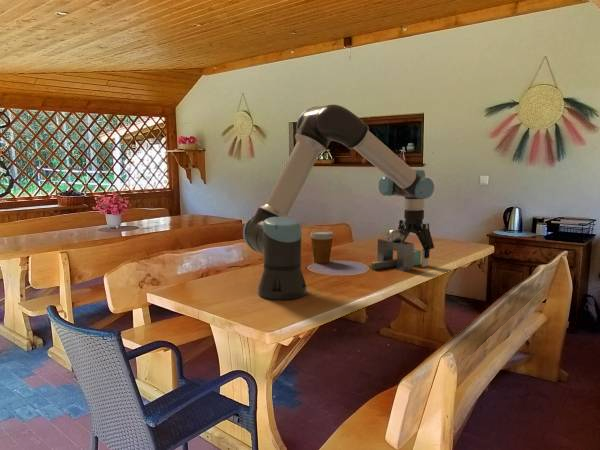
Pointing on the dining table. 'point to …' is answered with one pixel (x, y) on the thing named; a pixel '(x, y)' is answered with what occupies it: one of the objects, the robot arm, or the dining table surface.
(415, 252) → the mallet
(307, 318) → the dining table surface
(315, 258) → the disposable coffee cup
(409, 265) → the housing
